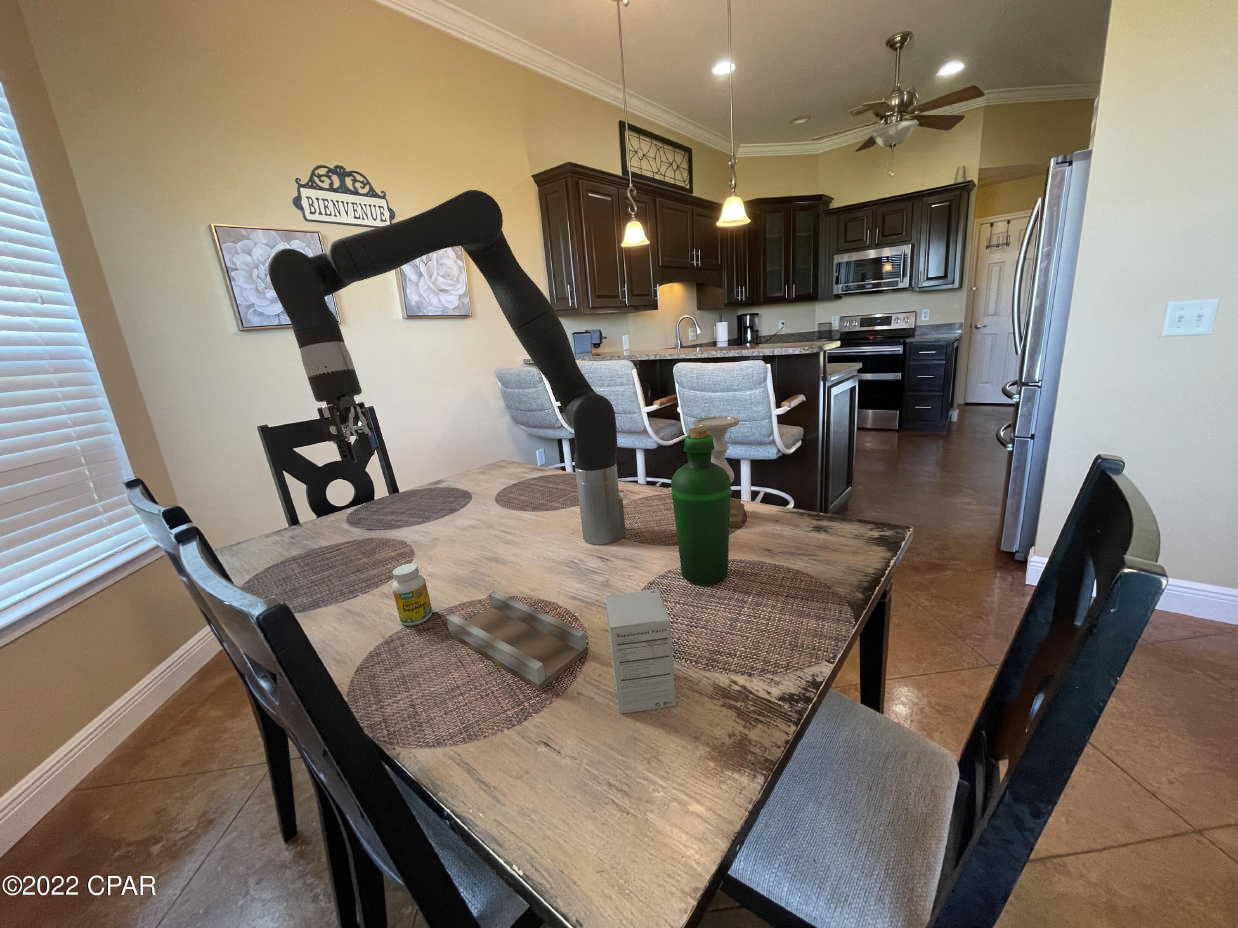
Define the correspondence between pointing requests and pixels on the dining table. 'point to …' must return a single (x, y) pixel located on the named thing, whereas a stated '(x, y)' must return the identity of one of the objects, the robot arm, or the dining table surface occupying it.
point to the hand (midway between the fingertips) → (360, 459)
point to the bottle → (702, 511)
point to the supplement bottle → (411, 595)
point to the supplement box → (641, 650)
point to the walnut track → (521, 640)
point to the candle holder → (723, 458)
